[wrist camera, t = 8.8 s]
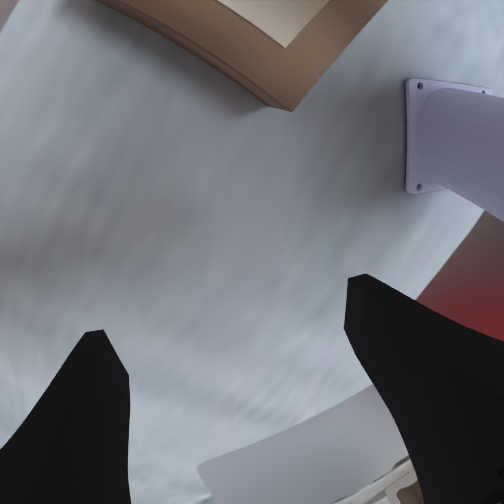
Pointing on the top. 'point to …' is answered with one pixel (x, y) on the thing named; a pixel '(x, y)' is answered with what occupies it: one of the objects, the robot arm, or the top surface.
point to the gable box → (405, 490)
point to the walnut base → (259, 38)
